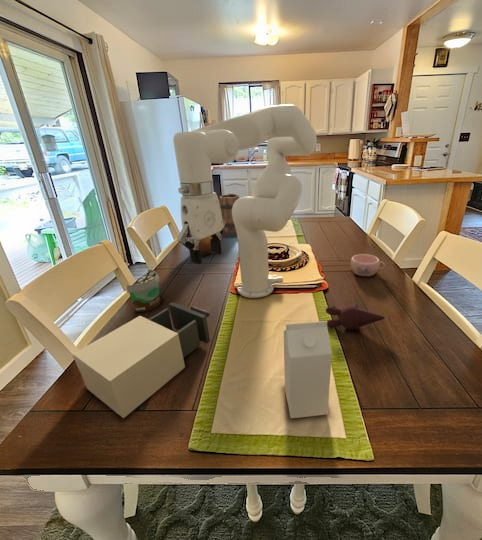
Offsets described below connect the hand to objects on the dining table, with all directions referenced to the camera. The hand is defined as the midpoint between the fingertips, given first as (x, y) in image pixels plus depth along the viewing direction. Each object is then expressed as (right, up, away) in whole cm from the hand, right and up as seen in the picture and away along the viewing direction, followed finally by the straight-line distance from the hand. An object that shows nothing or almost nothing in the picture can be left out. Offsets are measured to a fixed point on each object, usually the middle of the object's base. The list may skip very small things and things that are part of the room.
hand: (207, 257), depth 76 cm
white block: (-13, -28, -11) cm, 33 cm away
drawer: (-7, -22, -2) cm, 23 cm away
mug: (+53, -5, +31) cm, 62 cm away
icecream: (+39, -19, +2) cm, 44 cm away
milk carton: (+23, -30, -18) cm, 42 cm away
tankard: (+1, +17, +83) cm, 85 cm away
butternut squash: (-13, +4, +56) cm, 58 cm away
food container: (-21, -15, +18) cm, 31 cm away
